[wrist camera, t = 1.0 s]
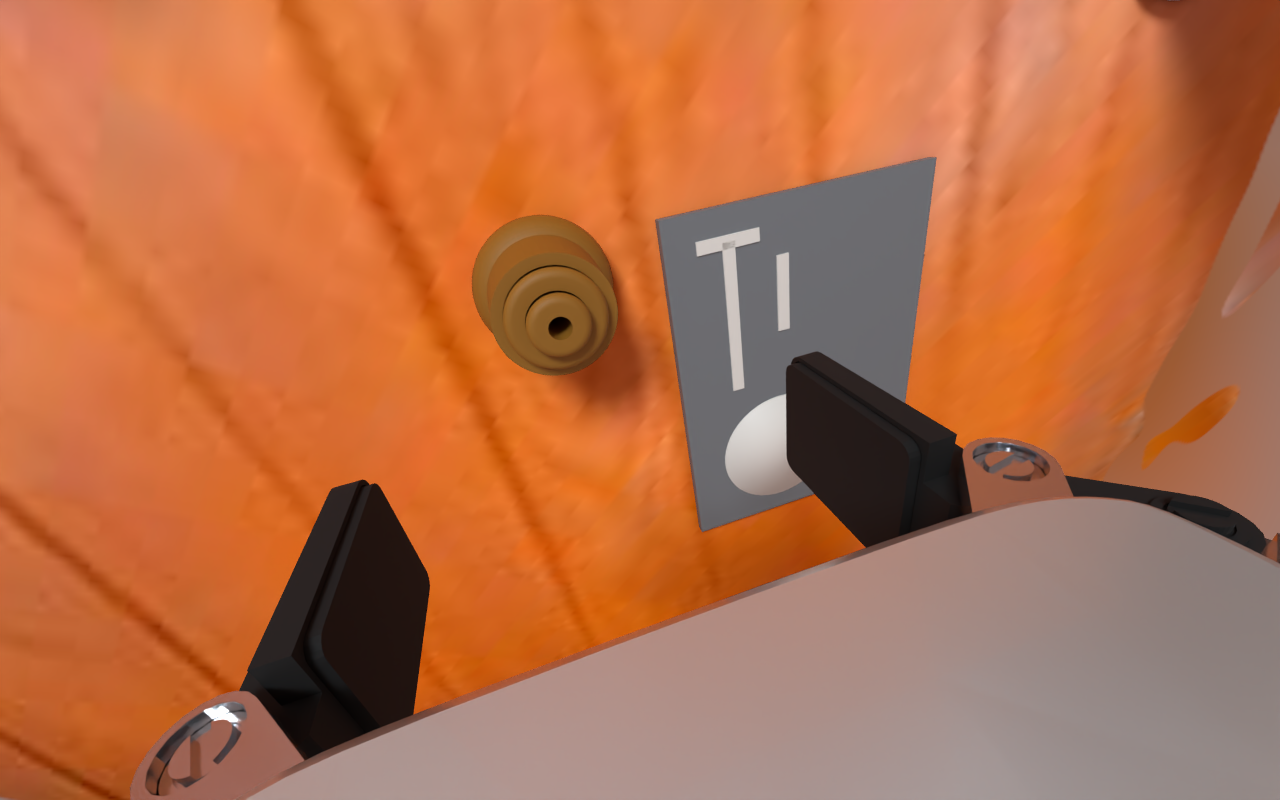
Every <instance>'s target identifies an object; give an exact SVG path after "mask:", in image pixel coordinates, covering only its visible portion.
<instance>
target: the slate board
mask: <svg viewBox="0 0 1280 800" xmlns="http://www.w3.org/2000/svg"><path fill="white" fill-rule="evenodd" d="M935 165H936V157H928V158H923V159H919V160H915V161H910V162H906V163H902V164H897V165H893V166H888V167H884V168H880V169H875V170H871V171H866V172H862V173H858V174H853V175H849V176H845V177H840V178H836V179H831V180H827V181H823V182H818V183H814V184H809V185H805V186H801V187H796V188H792V189H787V190H783V191H779V192H774V193H770V194H766V195H761V196H757V197H752V198H748V199H744V200H739V201H735V202H730V203H726V204H722V205H717V206H713V207H709V208H704V209H700V210H695V211H691V212H687V213H682V214H678V215H673V216H669V217H665V218H660V219H656V220H655V222H656V228H657V235H658V242H659V249H660V256H661V263H662V270H663V277H664V284H665V291H666V298H667V305H668V312H669V319H670V326H671V333H672V340H673V347H674V354H675V361H676V368H677V375H678V382H679V389H680V396H681V403H682V410H683V417H684V424H685V431H686V437H687V444H688V451H689V458H690V465H691V472H692V479H693V486H694V493H695V500H696V507H697V514H698V521H699V527H700V529H701V531H702V532H703V531H706V530H709V529H712V528H715V527H718V526H721V525H724V524H727V523H730V522H733V521H736V520H739V519H742V518H745V517H747V516H750V515H753V514H756V513H759V512H762V511H765V510H768V509H771V508H774V507H777V506H780V505H783V504H786V503H789V502H792V501H795V500H798V499H800V498H803V497H806V496H809V495H812V494H814V493H813V492H812V491H811V490H810V489H809V487H808V486H807V485H806V484H805V483H804V482H803V481H802V480H801V479H800V478H799V477H798V476H797V475H796V474H795V473H794V472H793V471H792V469H791V468H790V466H789V464H788V461H787V455H786V368H787V366H788V365H791V362H792V360H793V359H794V358H795V357H798V356H801V355H805V354H809V353H812V352H816V351H818V352H821V353H822V354H824V355H826V356H827V357H829V358H831V359H832V360H834V361H836V362H837V363H839V364H841V365H842V366H844V367H846V368H847V369H849V370H851V371H852V372H854V373H856V374H857V375H859V376H861V377H862V378H864V379H866V380H867V381H869V382H871V383H872V384H874V385H876V386H877V387H879V388H881V389H882V390H884V391H886V392H887V393H889V394H891V395H892V396H894V397H896V398H897V399H899V400H901V401H902V402H904V403H905V399H906V391H907V384H908V376H909V368H910V360H911V352H912V345H913V337H914V329H915V321H916V313H917V306H918V298H919V290H920V282H921V274H922V266H923V259H924V251H925V243H926V235H927V227H928V220H929V212H930V204H931V196H932V188H933V181H934V173H935Z"/></svg>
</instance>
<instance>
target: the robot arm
mask: <svg viewBox="0 0 1280 800" xmlns="http://www.w3.org/2000/svg"><path fill="white" fill-rule="evenodd" d="M1168 1H1178V0H1168ZM956 436H957V434H955V433H954V432H952V431H950V430H949V429H947V428H945V427H944V426H942V425H940V424H939V423H937V422H935V421H934V420H932V419H930V418H929V417H927V416H925V415H924V414H922V413H920V412H919V411H917V410H915V409H914V408H912V407H911V406H909V405H907V404H906V403H904V402H902V401H901V400H899V399H897V398H896V397H894V396H892V395H891V394H889V393H887V392H886V391H884V390H882V389H881V388H879V387H877V386H876V385H874V384H872V383H871V382H869V381H867V380H866V379H864V378H862V377H861V376H859V375H857V374H856V373H854V372H852V371H851V370H849V369H847V368H846V367H844V366H842V365H841V364H839V363H837V362H836V361H834V360H832V359H831V358H829V357H827V356H826V355H824V354H822V353H821V352H818V351H816V352H812V353H809V354H805V355H801V356H798V357H795V358H794V359H793V360H792V362H791V365H788V366H787V368H786V455H787V461H788V464H789V466H790V468H791V469H792V471H793V472H794V473H795V474H796V475H797V476H798V477H799V478H800V479H801V480H802V481H803V482H804V483H805V484H806V485H807V486H808V487H809V489H810V490H811V491H812V492H813V493H814V494H815V495H816V496H817V497H818V498H819V499H820V500H821V501H822V502H823V503H824V504H825V505H826V506H827V507H828V508H829V509H830V510H831V512H832V513H833V514H834V515H835V516H836V517H837V518H838V519H839V520H840V521H841V522H842V523H843V524H844V525H845V526H846V527H847V528H848V529H849V530H850V531H851V532H852V533H853V534H854V536H855V537H856V538H857V539H858V540H859V541H860V542H861V543H862V544H863V545H864V546H865V547H866V548H865V549H862V550H859V551H856V552H853V553H851V554H848V555H845V556H842V557H839V558H837V559H834V560H831V561H828V562H826V563H823V564H820V565H817V566H814V567H812V568H809V569H806V570H803V571H800V572H798V573H795V574H792V575H789V576H786V577H784V578H781V579H778V580H775V581H773V582H770V583H767V584H764V585H761V586H759V587H756V588H753V589H750V590H748V591H745V592H742V593H739V594H737V595H734V596H731V597H728V598H726V599H723V600H720V601H717V602H715V603H712V604H709V605H706V606H704V607H701V608H698V609H695V610H693V611H690V612H687V613H684V614H682V615H679V616H676V617H674V618H671V619H668V620H665V621H663V622H660V623H657V624H654V625H652V626H649V627H646V628H643V629H641V630H638V631H635V632H633V633H630V634H627V635H624V636H622V637H619V638H616V639H613V640H611V641H608V642H605V643H603V644H600V645H597V646H595V647H592V648H589V649H586V650H584V651H581V652H578V653H576V654H573V655H570V656H568V657H565V658H562V659H559V660H557V661H554V662H551V663H549V664H546V665H543V666H541V667H538V668H535V669H533V670H530V671H527V672H524V673H522V674H519V675H516V676H514V677H511V678H508V679H506V680H503V681H500V682H498V683H495V684H492V685H489V686H487V687H484V688H481V689H479V690H476V691H473V692H471V693H468V694H465V695H463V696H460V697H458V698H455V699H453V700H450V701H447V702H445V703H442V704H440V705H437V706H435V707H432V708H429V709H427V710H424V711H422V712H419V713H417V714H414V715H413V712H414V705H415V697H416V690H417V682H418V674H419V667H420V659H421V651H422V644H423V636H424V629H425V621H426V613H427V606H428V598H429V590H430V582H429V577H428V574H427V571H426V569H425V568H424V566H423V564H422V562H421V560H420V559H419V557H418V555H417V553H416V551H415V549H414V548H413V546H412V544H411V542H410V540H409V539H408V537H407V535H406V533H405V531H404V530H403V528H402V526H401V524H400V522H399V520H398V519H397V517H396V515H395V513H394V511H393V510H392V508H391V506H390V504H389V502H388V501H387V499H386V497H385V495H384V493H383V492H382V490H381V488H380V487H379V486H378V485H377V484H375V483H374V484H371V485H369V483H368V482H367V481H365V480H360V481H356V482H352V483H349V484H345V485H342V486H338V487H335V488H332V489H331V491H330V492H329V494H328V497H327V499H326V501H325V503H324V505H323V507H322V510H321V512H320V514H319V516H318V518H317V520H316V523H315V525H314V527H313V529H312V531H311V533H310V536H309V538H308V540H307V542H306V544H305V546H304V549H303V551H302V553H301V555H300V557H299V559H298V562H297V564H296V566H295V568H294V570H293V572H292V575H291V577H290V579H289V581H288V583H287V585H286V588H285V590H284V592H283V594H282V596H281V598H280V600H279V603H278V605H277V607H276V609H275V611H274V613H273V616H272V618H271V620H270V622H269V624H268V626H267V629H266V631H265V633H264V635H263V637H262V639H261V642H260V644H259V646H258V648H257V650H256V652H255V655H254V657H253V659H252V661H251V663H250V665H249V668H248V670H247V671H248V673H247V675H246V677H245V679H244V681H243V684H242V686H241V688H240V690H239V691H234V692H230V693H226V694H223V695H219V696H217V697H215V698H213V699H211V700H209V701H207V702H205V703H203V704H201V705H200V706H198V707H197V708H195V709H194V710H192V711H191V712H189V713H188V714H186V715H185V716H184V717H182V718H181V719H180V720H179V721H178V722H177V723H175V724H174V725H173V726H172V727H171V728H170V729H169V730H168V731H166V732H165V733H164V734H163V735H162V737H161V738H160V739H159V740H158V741H157V742H156V743H155V745H154V746H153V747H152V748H151V749H150V750H149V751H148V753H147V754H146V756H145V758H144V759H143V761H142V762H141V764H140V765H139V767H138V769H137V770H136V773H135V776H134V778H133V781H132V784H131V787H130V797H131V800H1280V533H1277V534H1276V536H1275V537H1274V538H1273V540H1269V539H1266V538H1264V534H1263V533H1262V532H1261V531H1260V530H1259V529H1258V528H1257V527H1256V525H1254V524H1253V523H1252V522H1251V521H1249V520H1248V519H1246V518H1245V517H1243V516H1242V515H1240V514H1239V513H1237V512H1235V511H1233V510H1231V509H1229V508H1227V507H1225V506H1223V505H1221V504H1219V503H1217V502H1214V501H1212V500H1209V499H1206V498H1202V497H1197V496H1190V495H1186V494H1180V493H1174V492H1168V491H1161V490H1154V489H1148V488H1142V487H1135V486H1129V485H1122V484H1116V483H1109V482H1103V481H1096V480H1090V479H1083V478H1077V477H1071V476H1065V475H1064V473H1063V470H1062V468H1061V466H1060V465H1059V463H1058V462H1057V460H1056V459H1055V458H1054V457H1053V456H1051V455H1050V454H1049V453H1047V452H1046V451H1044V450H1042V449H1040V448H1038V447H1036V446H1034V445H1031V444H1028V443H1025V442H1022V441H1018V440H1013V439H1007V438H984V439H977V440H975V441H973V442H970V443H968V444H967V446H966V447H965V448H964V449H963V448H961V447H959V446H958V445H956V444H955V441H956Z"/></svg>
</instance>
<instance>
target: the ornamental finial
mask: <svg viewBox="0 0 1280 800" xmlns="http://www.w3.org/2000/svg"><path fill="white" fill-rule="evenodd" d="M581 272H583V273H584V274H586V275H587V276H588V277H587V276H586V275H584V274H582V273H581ZM472 292H473V298H474V302H475V305H476V308H477V310H478V313H479V315H480V317H481V318H482V320H483V322H484V323H485V325H486V326H487V327H488V329H489V330H490V331H491V332H492V333H493V334H494V336H495V339H496V341H497V343H498V345H499V346H500V348H501V349H502V350H503V352H504V353H505V354H506V355H507V356H508V357H509V358H510V359H511V360H512V361H513V362H515V363H516V364H517V365H519V366H521V367H522V368H524V369H526V370H529V371H531V372H534V373H538V374H542V375H565V374H570V373H573V372H576V371H579V370H581V369H583V368H585V367H587V366H589V365H590V364H592V363H593V362H594V361H596V360H597V359H598V358H599V357H600V356H601V355H602V354H603V353H604V351H605V350H606V349H607V347H608V346H609V344H610V343H611V341H612V338H613V336H614V333H615V330H616V326H617V321H618V307H617V301H616V297H615V294H614V291H613V278H612V272H611V268H610V265H609V262H608V260H607V257H606V255H605V253H604V252H603V250H602V248H601V247H600V246H599V244H598V243H597V242H596V241H595V239H594V238H593V237H592V236H591V235H590V234H589V233H587V232H586V231H585V230H584V229H582V228H581V227H579V226H578V225H576V224H574V223H572V222H570V221H568V220H565V219H562V218H559V217H555V216H549V215H532V216H526V217H522V218H518V219H516V220H513V221H511V222H509V223H507V224H505V225H503V226H502V227H500V228H499V229H498V230H497V231H495V232H494V233H493V234H492V235H491V236H490V237H489V238H488V239H487V241H486V242H485V243H484V245H483V246H482V248H481V250H480V252H479V254H478V256H477V258H476V261H475V264H474V268H473V274H472ZM505 299H506V302H505ZM504 302H505V305H504ZM503 306H504V307H503Z"/></svg>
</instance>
